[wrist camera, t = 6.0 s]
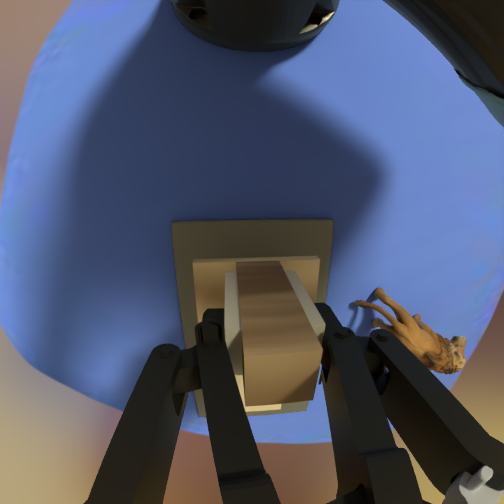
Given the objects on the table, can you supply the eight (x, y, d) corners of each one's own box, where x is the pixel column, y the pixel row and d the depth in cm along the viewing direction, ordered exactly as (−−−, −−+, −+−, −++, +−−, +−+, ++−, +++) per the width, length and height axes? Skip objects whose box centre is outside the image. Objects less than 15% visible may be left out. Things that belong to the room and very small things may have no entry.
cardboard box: (193, 258, 20) (163, 356, 9) (316, 255, 20) (388, 339, 10) (200, 329, 21) (187, 440, 11) (310, 324, 22) (357, 424, 12)
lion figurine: (440, 312, 29) (481, 349, 21) (419, 345, 31) (453, 386, 22) (364, 279, 27) (410, 325, 18) (338, 321, 28) (372, 377, 19)
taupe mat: (172, 221, 23) (171, 223, 23) (331, 219, 24) (333, 220, 24) (199, 413, 31) (199, 416, 31) (305, 407, 32) (306, 410, 32)
